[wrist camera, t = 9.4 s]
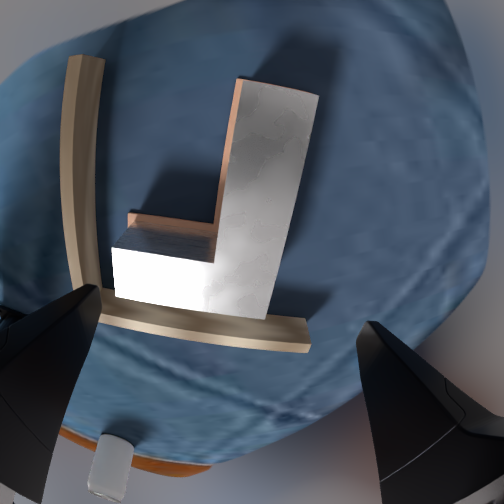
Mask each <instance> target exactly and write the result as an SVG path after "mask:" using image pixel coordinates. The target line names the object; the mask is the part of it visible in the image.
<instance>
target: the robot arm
mask: <svg viewBox="0 0 504 504" xmlns="http://www.w3.org/2000/svg"><path fill="white" fill-rule="evenodd" d="M101 312H102V301H101V295H100V289H99V287H98V286H97V285H94V284H89V283H87V284H85V285H83V286H81V287H79V288H77V289H75V290H73V291H72V292H70V293H68V294H66V295H64V296H62V297H60V298H58V299H57V300H55V301H53V302H51V303H49V304H48V305H46V306H44V307H42V308H40V309H38V310H37V311H35V312H33V313H31V314H30V315H28V316H27V315H24V314H21V313H19V312H16V311H13V310H11V309H8V308H6V307H3V306H1V305H0V317H1V319H0V504H14V502H13V500H14V495H15V492H17V493H18V494H20V495H22V496H24V497H26V498H28V499H30V500H31V501H34V502H36V503H37V504H41V502H42V497H43V493H44V488H45V483H46V478H47V474H48V470H49V466H50V462H51V459H52V455H53V454H52V453H53V451H54V447H55V444H56V440H57V437H58V434H59V430H60V427H61V424H62V421H63V418H64V415H65V412H66V409H67V406H68V403H69V401H70V398H71V395H72V392H73V390H74V387H75V384H76V382H77V379H78V377H79V374H80V371H81V369H82V366H83V364H84V362H85V359H86V357H87V354H88V352H89V349H90V346H91V343H92V340H93V337H94V333H95V330H96V327H97V324H98V321H99V318H100V315H101ZM356 347H357V354H358V362H359V370H360V378H361V383H362V388H363V393H364V397H365V402H366V407H367V411H368V416H369V421H370V427H371V432H372V437H373V443H374V449H375V454H376V461H377V467H378V473H379V480H380V489H381V497H382V504H504V417H500V416H497V415H494V414H493V413H491V412H490V411H488V410H487V409H486V408H484V407H483V406H482V405H480V404H479V403H477V402H476V401H474V400H473V399H472V398H470V397H469V396H468V395H467V394H465V393H464V392H463V391H461V390H460V389H459V388H458V387H456V386H455V385H454V384H453V383H451V382H450V381H449V380H448V379H447V378H444V376H443V375H442V374H441V373H440V372H438V371H437V370H436V369H435V368H434V367H432V366H431V365H430V364H429V363H427V362H426V361H425V360H424V359H423V358H422V357H420V356H419V355H418V354H417V353H416V352H414V351H413V350H412V349H411V348H409V347H408V346H407V345H406V344H405V343H403V342H402V341H401V340H400V339H398V338H397V337H396V336H395V335H394V334H392V333H391V332H390V331H389V330H387V329H386V328H385V327H384V326H382V325H381V324H380V323H379V322H377V321H366V322H365V324H364V325H363V327H362V329H361V331H360V333H359V335H358V337H357V340H356Z"/></svg>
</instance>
